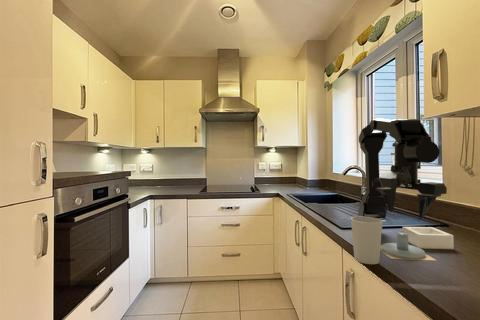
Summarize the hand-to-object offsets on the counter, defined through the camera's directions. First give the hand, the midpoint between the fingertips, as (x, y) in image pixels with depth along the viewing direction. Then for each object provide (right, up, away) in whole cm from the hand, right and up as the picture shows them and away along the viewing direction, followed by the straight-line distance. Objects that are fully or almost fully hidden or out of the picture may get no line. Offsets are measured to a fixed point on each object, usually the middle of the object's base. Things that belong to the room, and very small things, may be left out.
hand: (405, 214), depth 76 cm
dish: (+13, -12, +10) cm, 20 cm away
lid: (0, -12, +2) cm, 12 cm away
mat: (0, -12, +2) cm, 13 cm away
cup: (-13, -13, -4) cm, 19 cm away
